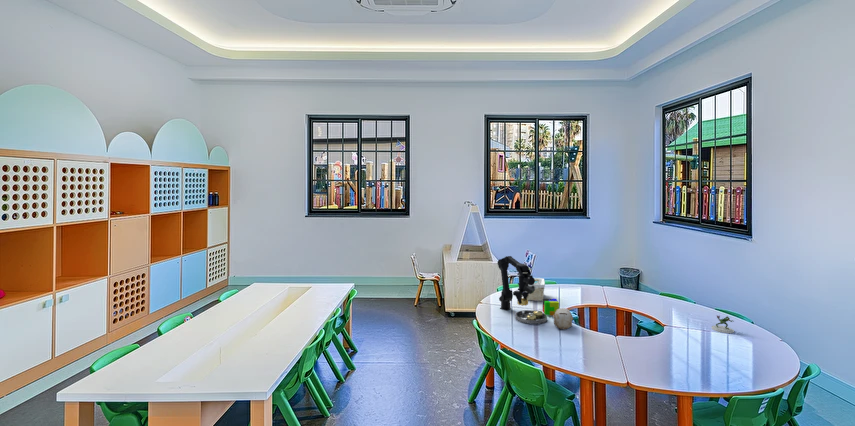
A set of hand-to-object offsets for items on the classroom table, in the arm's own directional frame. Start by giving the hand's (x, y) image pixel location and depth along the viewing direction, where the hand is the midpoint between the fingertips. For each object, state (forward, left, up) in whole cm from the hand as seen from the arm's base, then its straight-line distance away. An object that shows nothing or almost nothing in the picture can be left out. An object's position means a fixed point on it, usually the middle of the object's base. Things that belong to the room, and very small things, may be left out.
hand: (522, 302), depth 286 cm
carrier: (+6, +1, -11) cm, 13 cm away
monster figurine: (+114, +62, -11) cm, 130 cm away
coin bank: (+29, +2, -11) cm, 32 cm away
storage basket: (-15, +52, -11) cm, 56 cm away
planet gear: (0, 0, -1) cm, 1 cm away
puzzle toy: (+12, +22, -11) cm, 27 cm away
